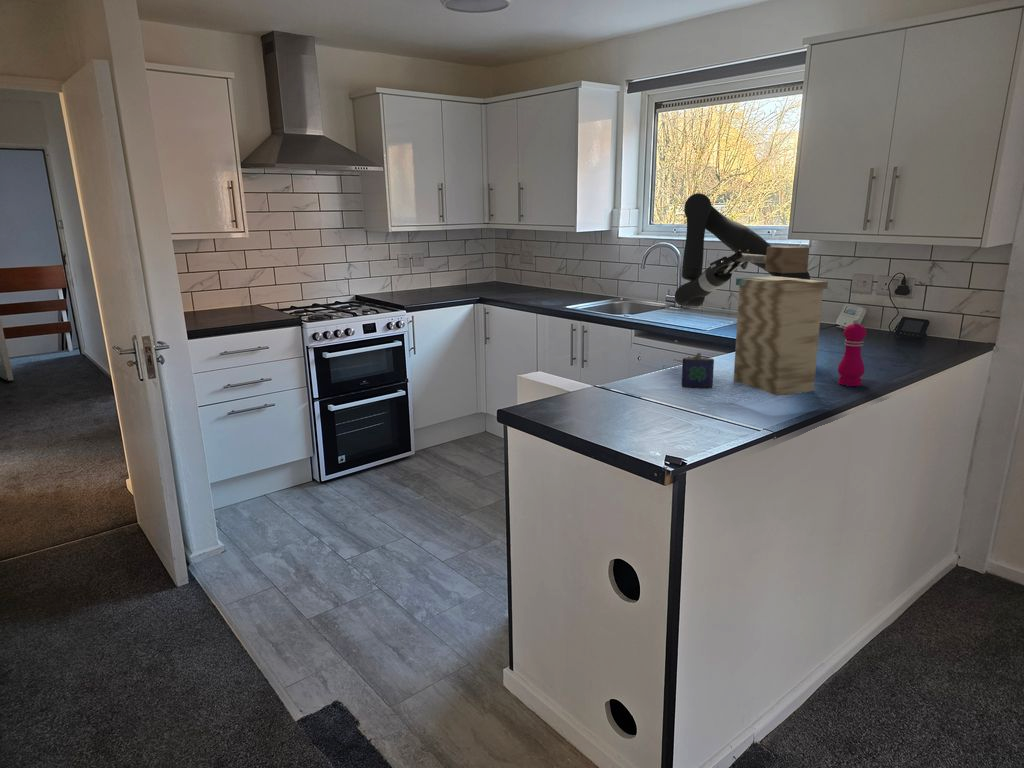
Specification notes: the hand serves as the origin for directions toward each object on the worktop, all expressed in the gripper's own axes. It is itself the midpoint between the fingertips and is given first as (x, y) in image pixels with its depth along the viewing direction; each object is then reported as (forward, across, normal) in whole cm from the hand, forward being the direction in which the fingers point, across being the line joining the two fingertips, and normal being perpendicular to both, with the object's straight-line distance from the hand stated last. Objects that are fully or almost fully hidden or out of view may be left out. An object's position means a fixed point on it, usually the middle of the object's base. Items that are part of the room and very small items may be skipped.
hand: (744, 252), depth 205 cm
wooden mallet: (+6, 0, +8) cm, 10 cm away
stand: (-5, 0, +42) cm, 43 cm away
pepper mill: (+2, +22, +46) cm, 51 cm away
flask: (-11, -22, +39) cm, 46 cm away
